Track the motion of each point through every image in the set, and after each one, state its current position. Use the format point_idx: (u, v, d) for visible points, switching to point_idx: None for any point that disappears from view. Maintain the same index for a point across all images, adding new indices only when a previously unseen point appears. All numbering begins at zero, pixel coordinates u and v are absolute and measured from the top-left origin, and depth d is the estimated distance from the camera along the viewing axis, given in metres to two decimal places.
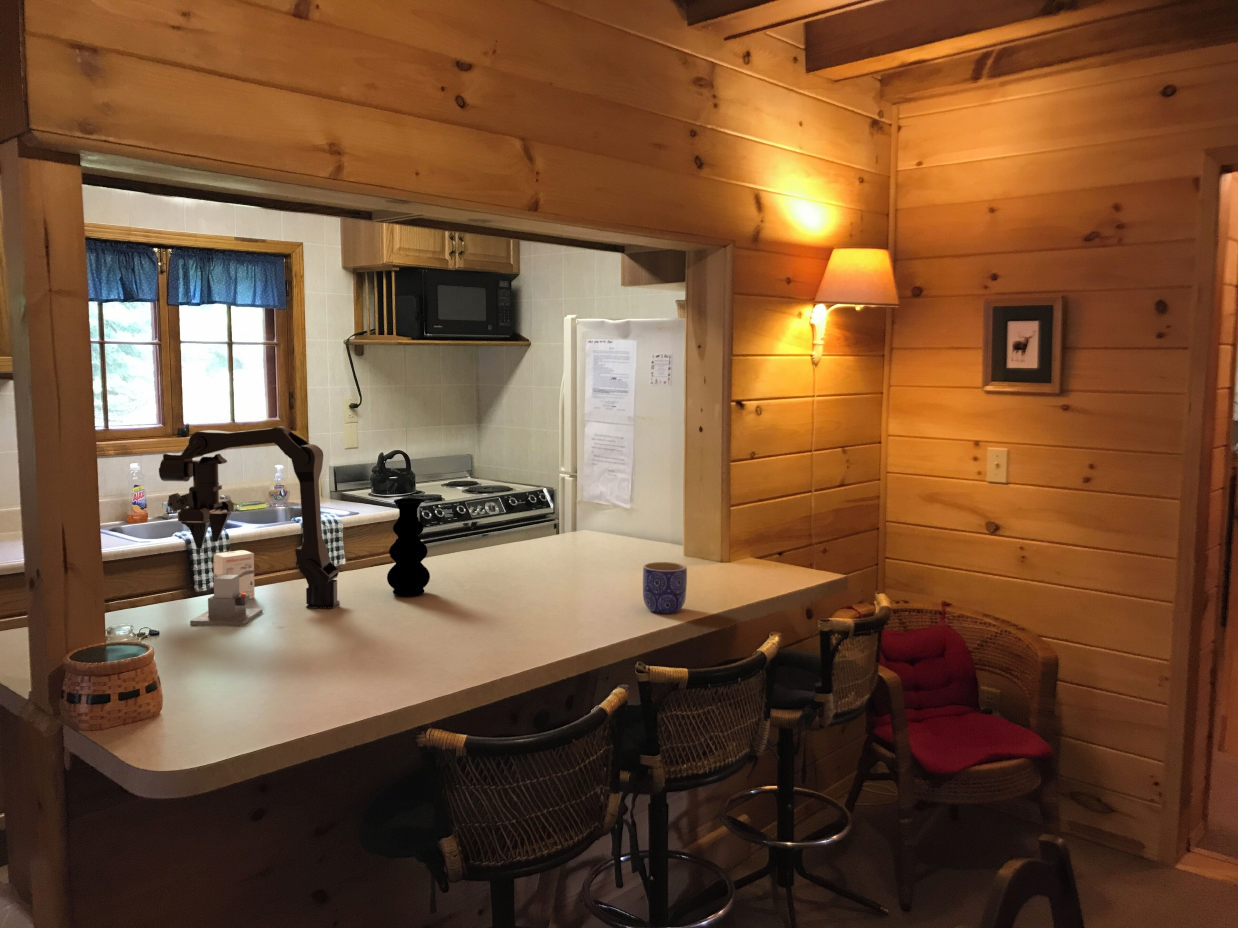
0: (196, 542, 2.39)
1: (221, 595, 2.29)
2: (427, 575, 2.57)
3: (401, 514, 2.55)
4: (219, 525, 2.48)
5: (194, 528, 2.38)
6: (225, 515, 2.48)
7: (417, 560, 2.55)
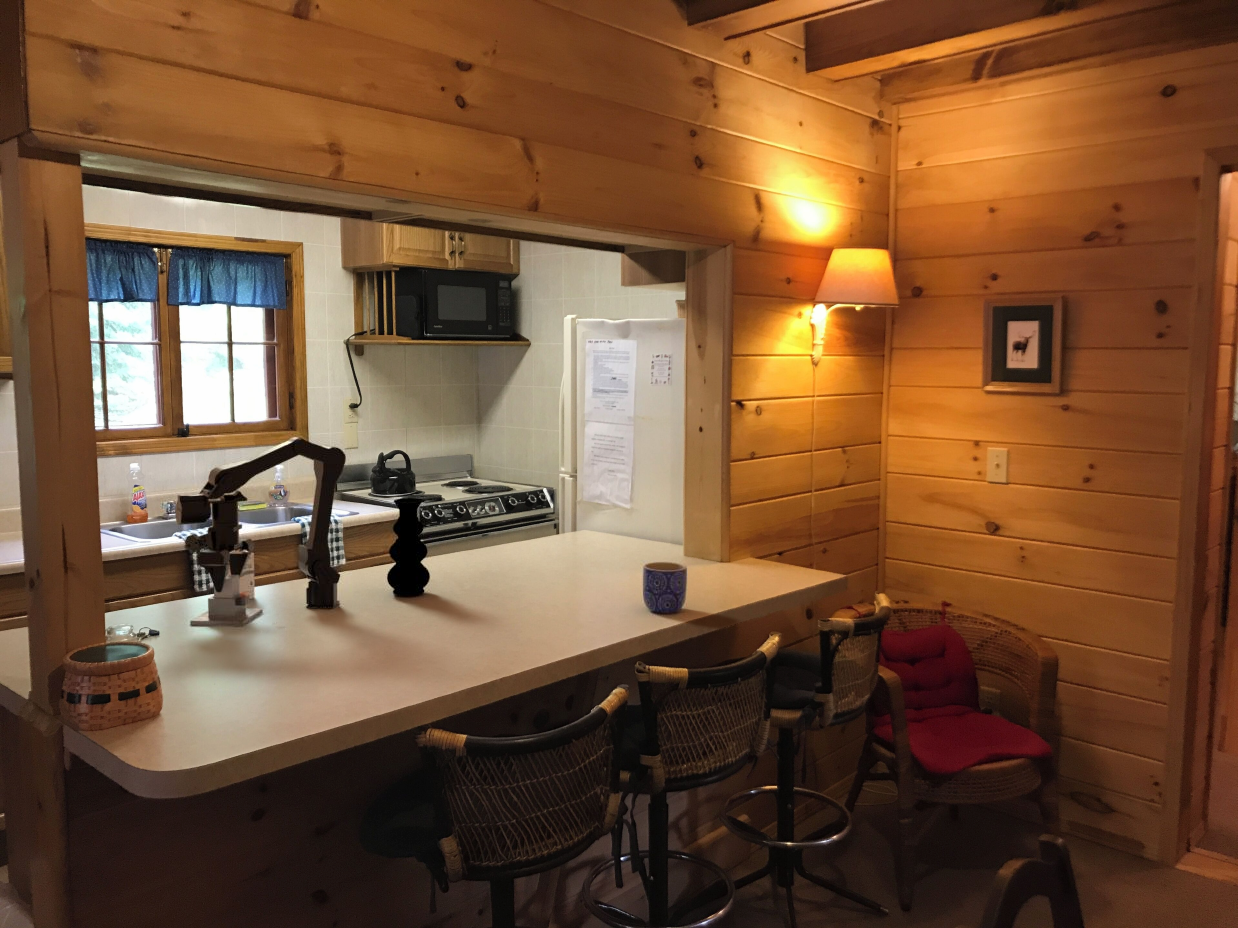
0: (215, 586, 2.25)
1: (221, 595, 2.29)
2: (427, 575, 2.57)
3: (401, 514, 2.55)
4: (239, 566, 2.35)
5: (213, 571, 2.24)
6: (245, 555, 2.35)
7: (417, 560, 2.55)
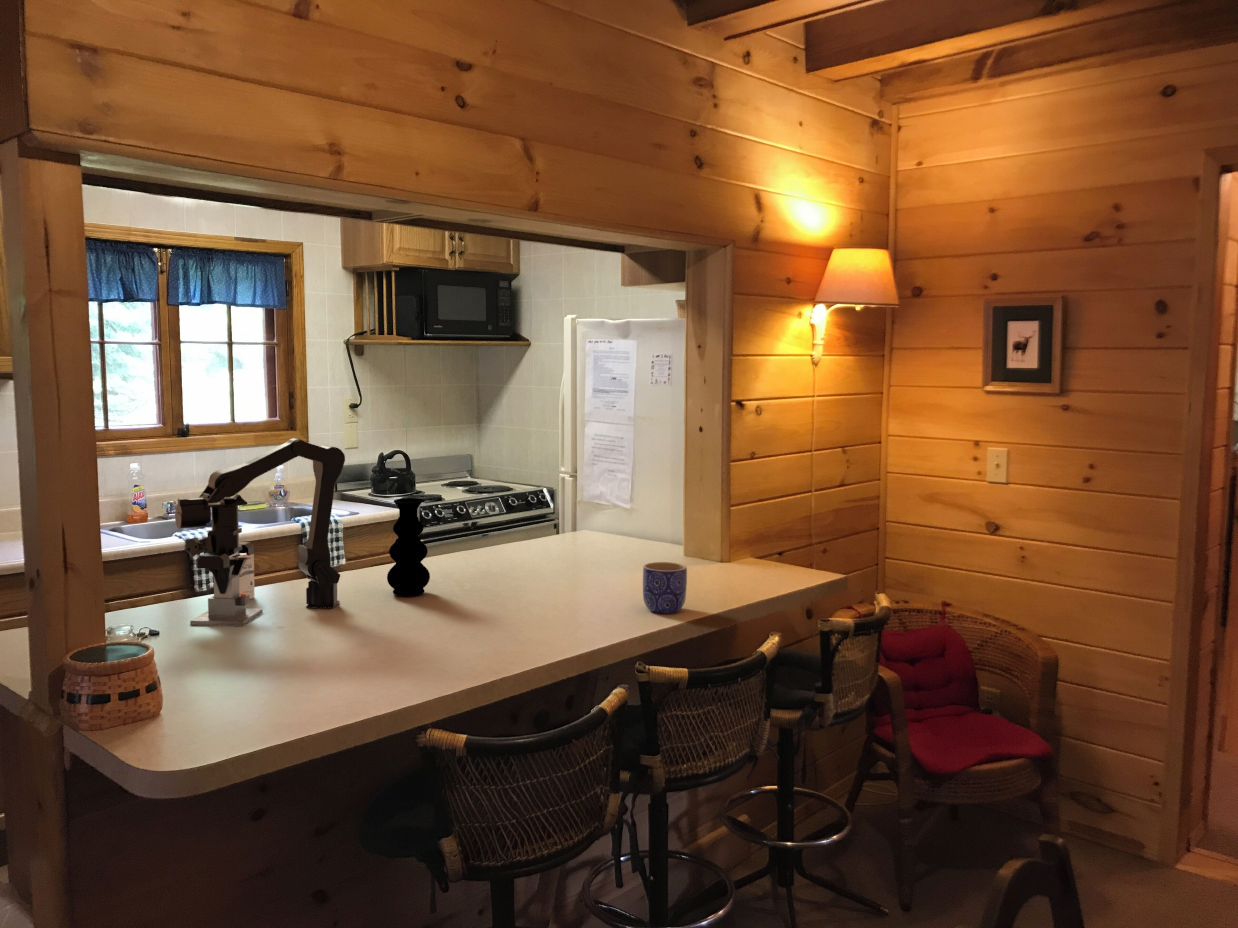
0: (219, 587, 2.28)
1: (221, 595, 2.29)
2: (427, 575, 2.57)
3: (401, 514, 2.55)
4: (235, 572, 2.33)
5: (217, 573, 2.27)
6: (241, 561, 2.33)
7: (417, 560, 2.55)
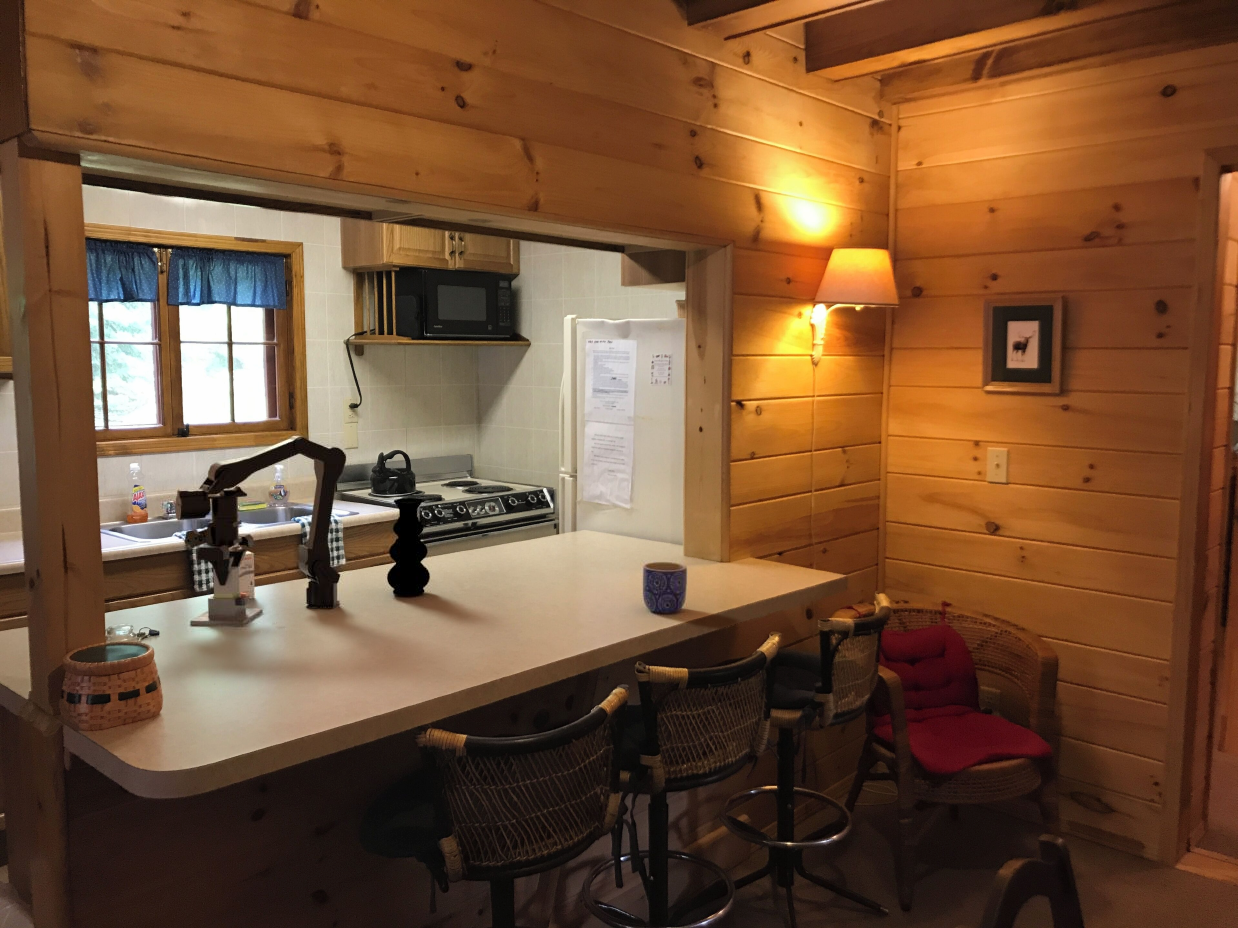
0: (219, 579, 2.27)
1: (221, 587, 2.29)
2: (427, 575, 2.57)
3: (401, 514, 2.55)
4: (234, 563, 2.33)
5: (217, 564, 2.27)
6: (241, 553, 2.33)
7: (417, 560, 2.55)
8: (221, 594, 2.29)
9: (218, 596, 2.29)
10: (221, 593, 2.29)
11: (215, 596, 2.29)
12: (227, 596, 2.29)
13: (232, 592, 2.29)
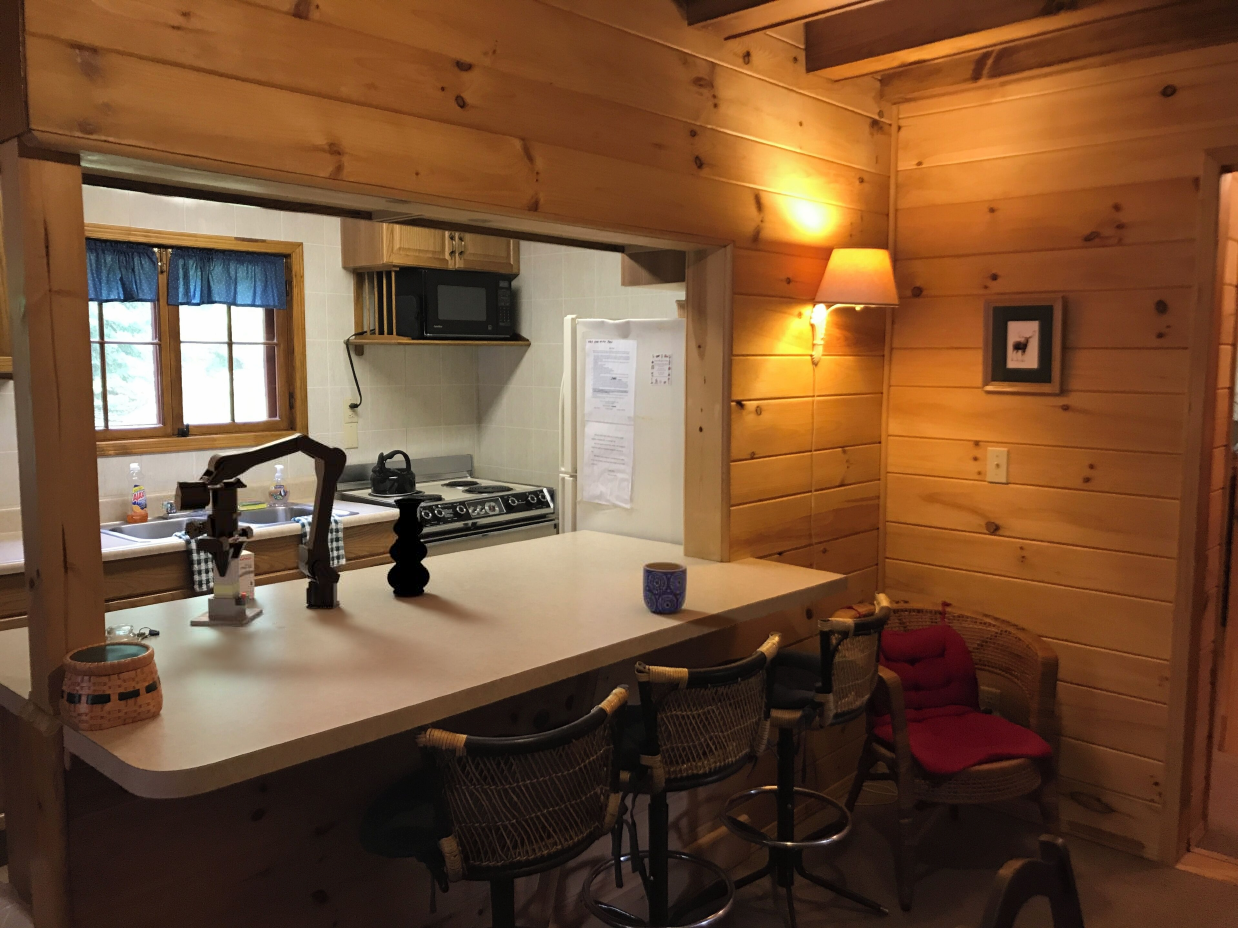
0: (219, 570, 2.27)
1: (221, 578, 2.28)
2: (427, 575, 2.57)
3: (401, 514, 2.55)
4: (234, 555, 2.32)
5: (217, 556, 2.26)
6: (241, 544, 2.32)
7: (417, 560, 2.55)
8: (221, 585, 2.28)
9: (218, 587, 2.29)
10: (221, 584, 2.28)
11: (215, 587, 2.29)
12: (227, 587, 2.29)
13: (232, 583, 2.29)
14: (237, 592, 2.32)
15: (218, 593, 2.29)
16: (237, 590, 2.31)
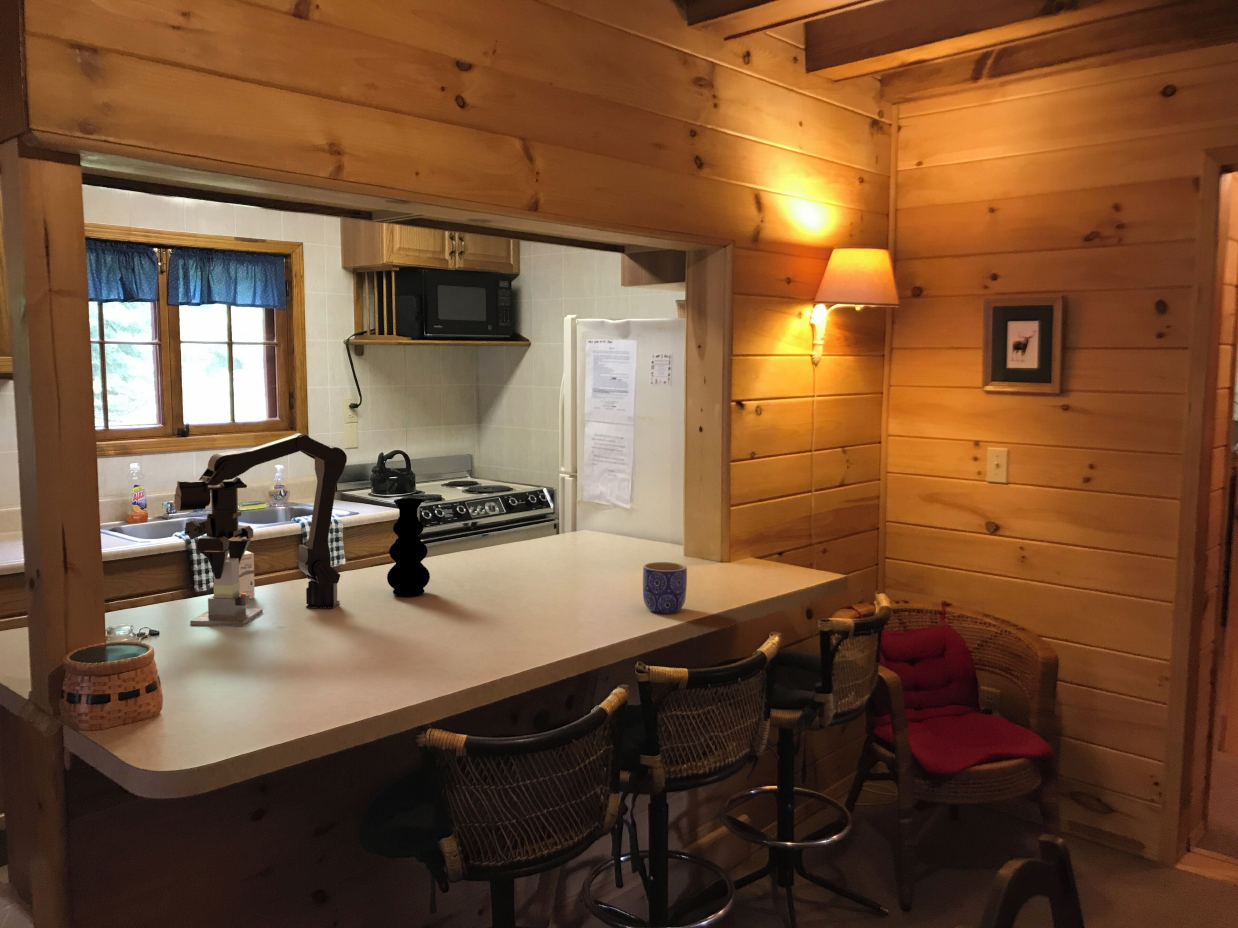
0: (215, 572, 2.25)
1: (221, 578, 2.28)
2: (427, 575, 2.57)
3: (401, 514, 2.55)
4: (238, 553, 2.35)
5: (213, 557, 2.24)
6: (245, 542, 2.35)
7: (417, 560, 2.55)
8: (221, 585, 2.28)
9: (218, 587, 2.29)
10: (221, 584, 2.28)
11: (215, 587, 2.29)
12: (227, 587, 2.29)
13: (232, 583, 2.29)
14: (237, 592, 2.32)
15: (218, 593, 2.29)
16: (237, 590, 2.31)
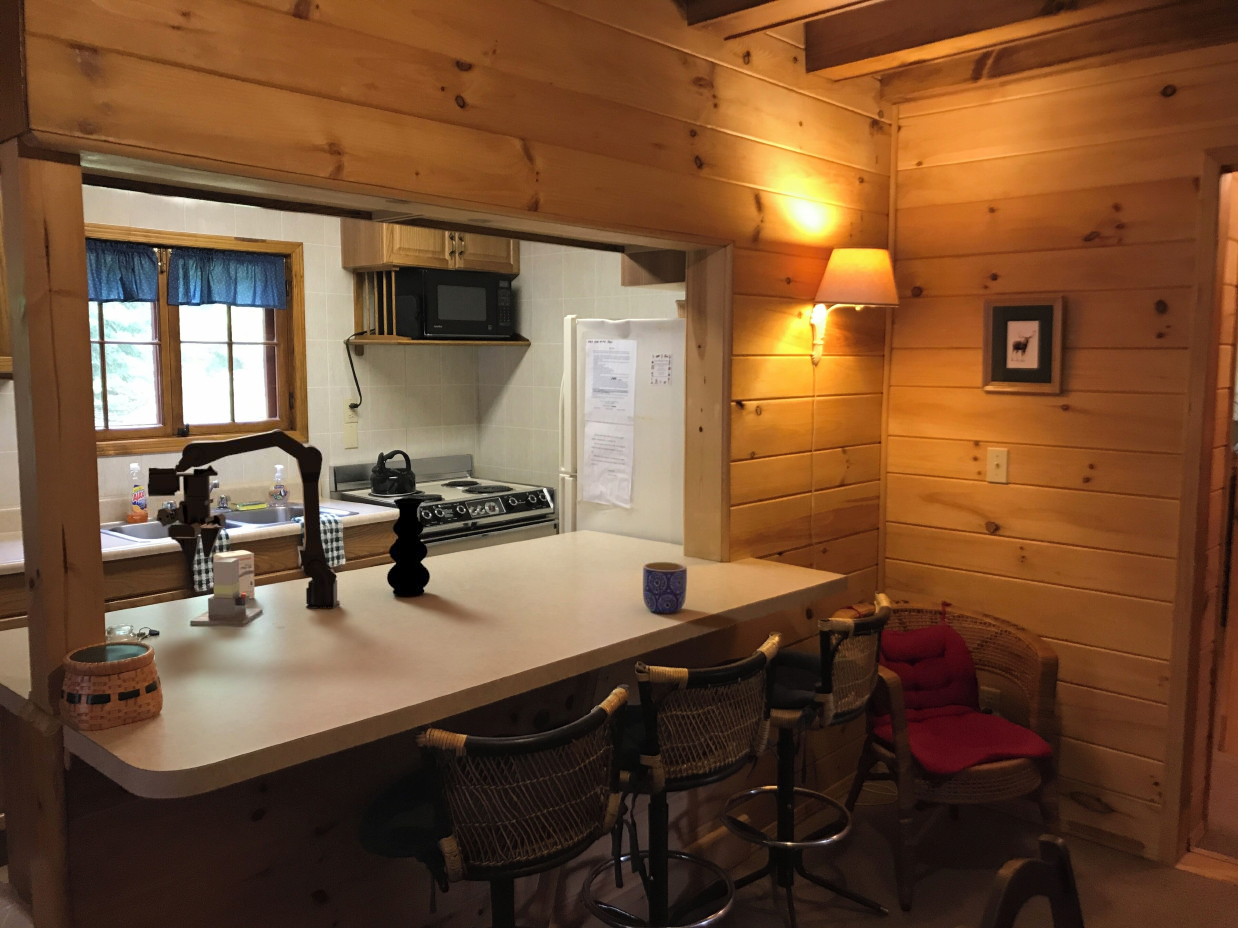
0: (187, 558, 2.28)
1: (221, 578, 2.28)
2: (427, 575, 2.57)
3: (401, 514, 2.55)
4: (211, 540, 2.37)
5: (185, 544, 2.27)
6: (217, 529, 2.38)
7: (417, 560, 2.55)
8: (221, 585, 2.28)
9: (218, 587, 2.29)
10: (221, 584, 2.28)
11: (215, 587, 2.29)
12: (227, 587, 2.29)
13: (232, 583, 2.29)
14: (237, 592, 2.32)
15: (218, 593, 2.29)
16: (237, 590, 2.31)
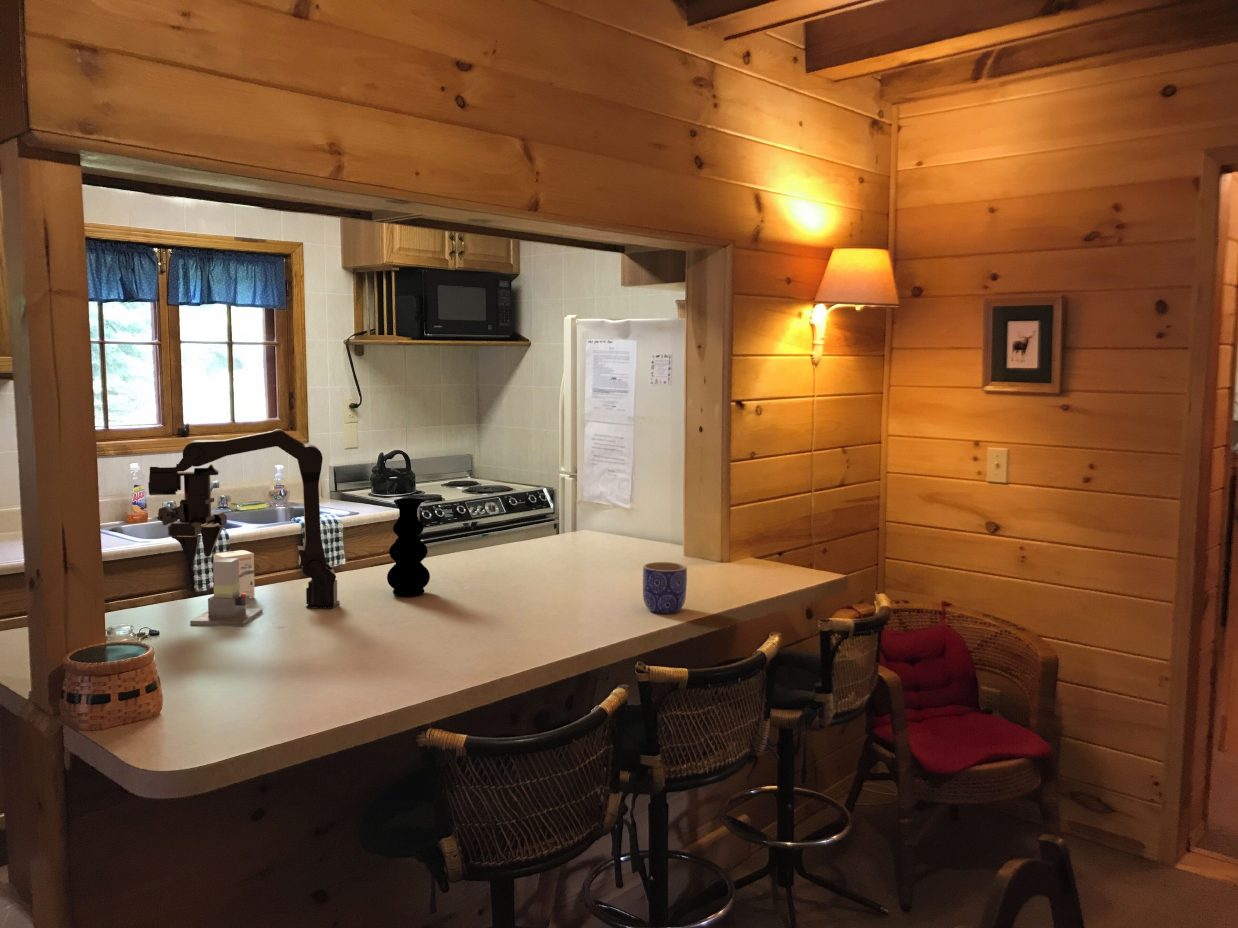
0: (187, 557, 2.29)
1: (221, 578, 2.28)
2: (427, 575, 2.57)
3: (401, 514, 2.55)
4: (211, 539, 2.38)
5: (185, 543, 2.28)
6: (218, 528, 2.39)
7: (417, 560, 2.55)
8: (221, 585, 2.28)
9: (218, 587, 2.29)
10: (221, 584, 2.28)
11: (215, 587, 2.29)
12: (227, 587, 2.29)
13: (232, 583, 2.29)
14: (237, 592, 2.32)
15: (218, 593, 2.29)
16: (237, 590, 2.31)
